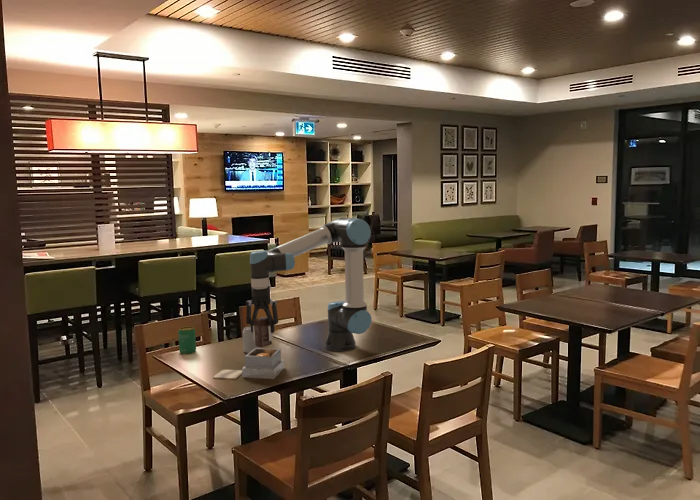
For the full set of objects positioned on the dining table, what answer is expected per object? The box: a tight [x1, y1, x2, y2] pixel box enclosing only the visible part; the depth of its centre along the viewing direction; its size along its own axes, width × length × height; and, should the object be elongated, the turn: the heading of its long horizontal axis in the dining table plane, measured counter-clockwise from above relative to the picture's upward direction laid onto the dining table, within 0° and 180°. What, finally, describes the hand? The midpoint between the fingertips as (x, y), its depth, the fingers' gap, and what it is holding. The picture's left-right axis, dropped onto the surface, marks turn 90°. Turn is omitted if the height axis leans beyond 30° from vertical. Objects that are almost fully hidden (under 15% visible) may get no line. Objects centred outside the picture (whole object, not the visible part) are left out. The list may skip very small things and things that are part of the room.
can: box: [242, 326, 260, 354], centre depth 275 cm, size 8×8×12 cm
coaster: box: [212, 369, 242, 381], centre depth 242 cm, size 10×10×1 cm
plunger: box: [257, 353, 270, 357], centre depth 243 cm, size 6×6×4 cm
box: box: [254, 316, 273, 348], centre depth 242 cm, size 6×4×12 cm
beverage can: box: [177, 326, 197, 355], centre depth 276 cm, size 8×8×12 cm
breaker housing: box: [241, 347, 285, 380], centre depth 244 cm, size 14×14×9 cm
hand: (263, 339), depth 243 cm, fingers closed on box, 6 cm apart
